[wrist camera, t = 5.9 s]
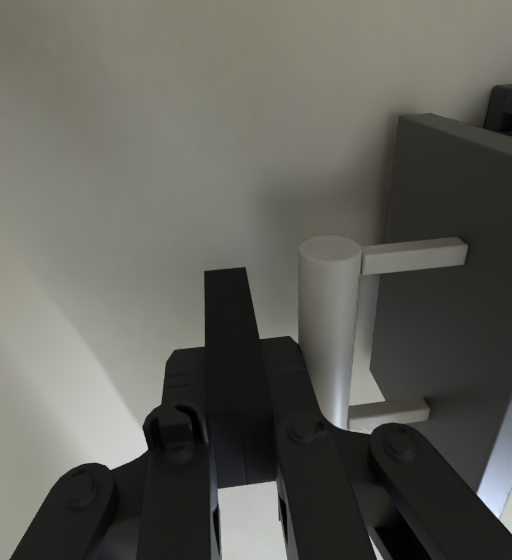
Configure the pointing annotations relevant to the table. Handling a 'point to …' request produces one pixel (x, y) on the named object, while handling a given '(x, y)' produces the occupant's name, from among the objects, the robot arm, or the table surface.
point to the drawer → (427, 303)
